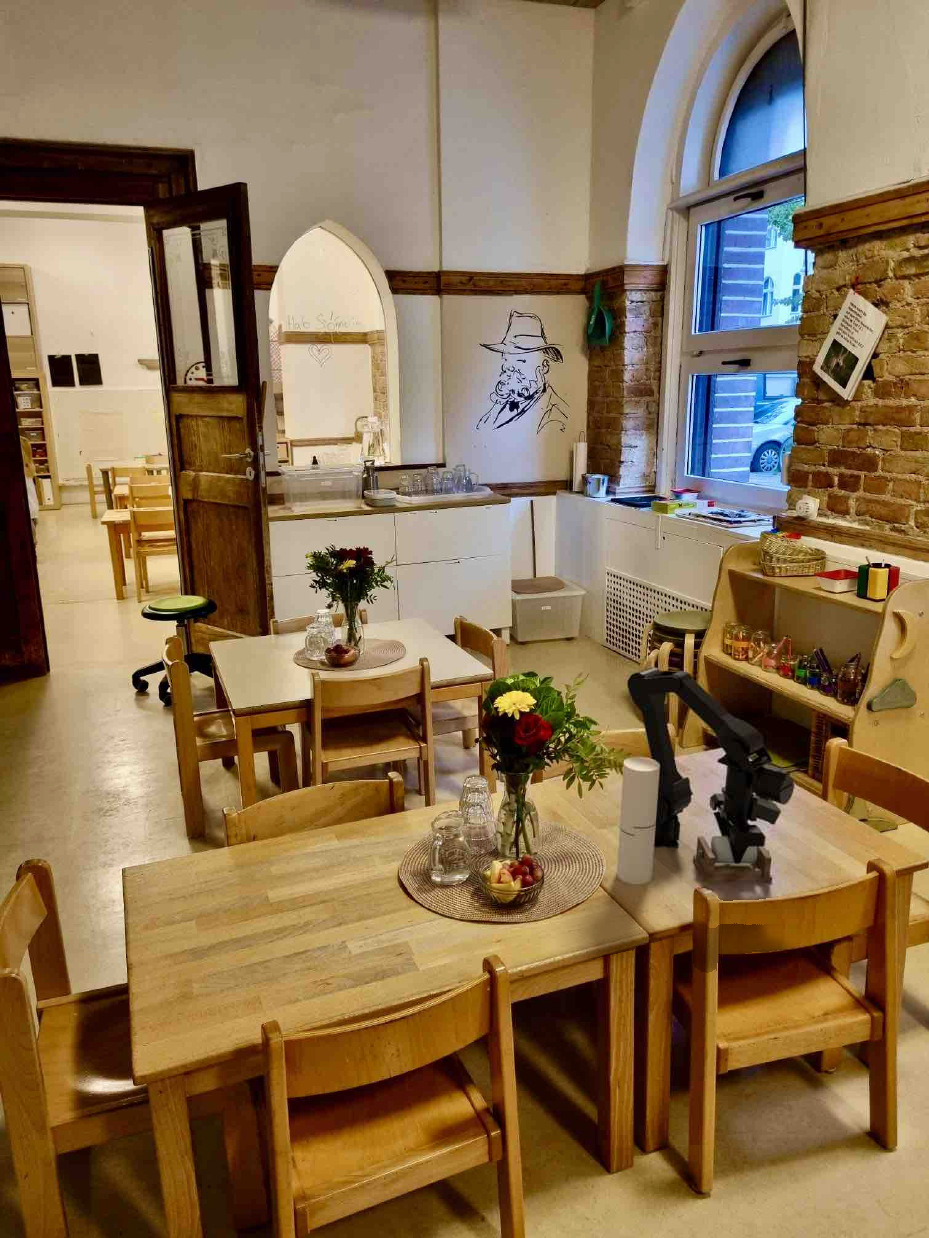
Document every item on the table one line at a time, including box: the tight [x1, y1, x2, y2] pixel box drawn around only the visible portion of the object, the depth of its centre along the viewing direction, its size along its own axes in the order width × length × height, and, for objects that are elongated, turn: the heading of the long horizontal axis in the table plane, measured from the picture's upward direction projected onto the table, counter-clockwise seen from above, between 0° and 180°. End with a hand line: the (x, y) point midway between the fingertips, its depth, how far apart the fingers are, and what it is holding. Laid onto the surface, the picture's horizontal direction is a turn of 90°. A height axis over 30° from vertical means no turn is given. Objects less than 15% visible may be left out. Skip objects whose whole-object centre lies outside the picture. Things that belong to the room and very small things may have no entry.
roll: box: [710, 835, 757, 863], centre depth 192 cm, size 9×6×6 cm, turn 91°
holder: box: [692, 835, 773, 883], centre depth 192 cm, size 15×9×6 cm, turn 91°
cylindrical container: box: [616, 756, 660, 885], centre depth 187 cm, size 7×7×25 cm
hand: (732, 856), depth 192 cm, fingers closed on roll, 5 cm apart
